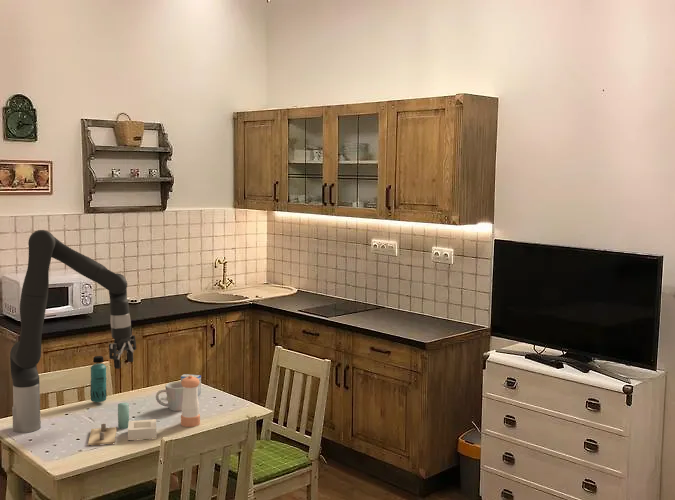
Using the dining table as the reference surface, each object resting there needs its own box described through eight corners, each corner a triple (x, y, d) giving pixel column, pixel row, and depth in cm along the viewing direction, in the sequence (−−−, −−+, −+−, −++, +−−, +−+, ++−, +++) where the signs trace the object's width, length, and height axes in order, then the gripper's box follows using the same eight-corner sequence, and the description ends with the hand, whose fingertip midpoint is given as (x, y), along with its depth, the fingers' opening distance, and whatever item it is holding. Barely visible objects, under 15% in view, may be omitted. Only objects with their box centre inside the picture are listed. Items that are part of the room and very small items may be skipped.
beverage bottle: (87, 403, 311) (86, 356, 309) (102, 399, 316) (101, 353, 314) (95, 406, 307) (94, 359, 304) (110, 403, 311) (109, 356, 309)
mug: (195, 409, 306) (195, 385, 305) (160, 415, 297) (160, 391, 296) (185, 402, 314) (185, 379, 313) (151, 408, 306) (150, 384, 305)
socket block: (127, 440, 270) (127, 430, 270) (128, 431, 280) (128, 420, 279) (156, 438, 272) (156, 428, 272) (156, 429, 282) (156, 419, 282)
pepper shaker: (199, 426, 286) (199, 378, 284) (180, 427, 285) (180, 378, 283) (200, 420, 293) (200, 372, 291) (181, 420, 292) (181, 373, 290)
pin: (117, 429, 282) (117, 406, 281) (118, 425, 285) (118, 402, 284) (128, 428, 283) (128, 405, 282) (129, 425, 286) (128, 402, 285)
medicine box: (180, 395, 324) (180, 376, 323) (184, 392, 328) (183, 373, 327) (197, 397, 322) (197, 377, 321) (201, 393, 327) (201, 374, 326)
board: (88, 446, 264) (88, 436, 264) (91, 431, 279) (91, 422, 278) (114, 444, 267) (114, 434, 266) (116, 429, 281) (116, 420, 281)
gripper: (123, 320, 298) (126, 359, 300) (101, 329, 285) (104, 370, 287) (139, 321, 295) (142, 360, 298) (118, 330, 282) (121, 371, 285)
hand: (124, 365), depth 292 cm, fingers open, 8 cm apart
